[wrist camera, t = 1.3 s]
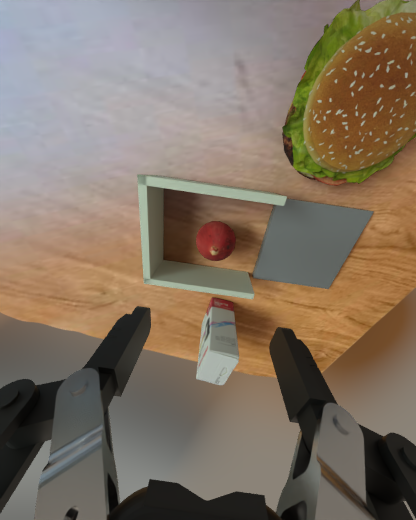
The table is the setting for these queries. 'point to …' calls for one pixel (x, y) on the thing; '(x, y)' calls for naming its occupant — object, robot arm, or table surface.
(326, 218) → the tile
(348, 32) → the food
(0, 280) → the table surface
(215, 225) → the onion
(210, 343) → the ink box
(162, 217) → the cubby
